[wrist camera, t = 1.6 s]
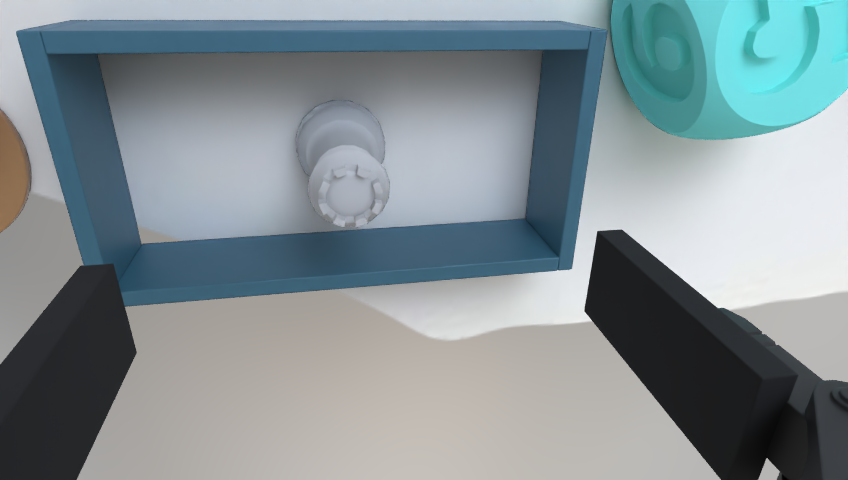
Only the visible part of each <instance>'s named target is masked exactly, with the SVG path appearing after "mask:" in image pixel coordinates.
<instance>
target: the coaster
mask: <svg viewBox="0 0 848 480" xmlns="http://www.w3.org/2000/svg"><path fill="white" fill-rule="evenodd" d="M30 184H31V171H30V163H29V159H28V155H27V152H26V149H25V146H24V144H23V141H22V139H21V138H20V136H19V134H18V132H17V130H16V128H15V127H14V126H13V124H12V123H11V121H10V120H9V119H8V117H7V116H6V115H5V114H4V113H3V111H2V110H1V109H0V233H1V232H2V231H3V230H4V229H6V228H7V227H8V226H9V225H10V224H11V223H12V222H13V221H14V220H15V219H16V218H17V217H18V216H19V214H20V213H21V211H22V210H23V208H24V206H25V203H26V201H27V199H28V195H29V191H30Z"/></svg>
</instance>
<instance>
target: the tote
mask: <svg viewBox="0 0 848 480" xmlns="http://www.w3.org/2000/svg"><path fill="white" fill-rule="evenodd" d="M16 34H17V37H18V41H19V44H20V48H21V51H22V55H23V58H24V62H25V65H26V68H27V72H28V75H29V79H30V82H31V86H32V89H33V92H34V96H35V99H36V103H37V106H38V110H39V113H40V116H41V120H42V123H43V127H44V130H45V134H46V137H47V141H48V144H49V147H50V151H51V154H52V158H53V161H54V165H55V168H56V171H57V175H58V178H59V182H60V185H61V189H62V192H63V195H64V199H65V202H66V206H67V209H68V213H69V216H70V219H71V223H72V226H73V230H74V233H75V237H76V240H77V244H78V247H79V250H80V254H81V257H82V261H83V264H84V265H99V264H114V268H115V271H116V275H117V279H118V283H119V287H120V291H121V294H122V298H123V302H124V306H125V307H126V306H137V305H150V304H161V303H174V302H186V301H198V300H210V299H222V298H234V297H245V296H258V295H270V294H282V293H293V292H305V291H318V290H330V289H342V288H354V287H366V286H378V285H390V284H402V283H414V282H426V281H438V280H450V279H463V278H475V277H487V276H499V275H511V274H523V273H535V272H547V271H557V270H569V269H572V264H573V257H574V251H575V244H576V237H577V231H578V224H579V217H580V211H581V204H582V197H583V191H584V184H585V178H586V171H587V164H588V158H589V151H590V144H591V138H592V131H593V124H594V118H595V111H596V104H597V98H598V91H599V84H600V78H601V71H602V64H603V58H604V51H605V44H606V38H607V30H605V29H600V28H594V27H589V26H584V25H579V24H573V23H568V22H563V21H272V20H89V21H87V20H70V21H65V22H59V23H54V24H49V25H44V26H39V27H34V28H29V29H24V30H19V31H16ZM485 50H543V58H542V67H541V77H540V87H539V96H538V106H537V116H536V125H535V135H534V144H533V154H532V164H531V173H530V183H529V193H528V202H527V212H526V220H525V219H517V220H501V221H486V222H471V223H455V224H440V225H424V226H409V227H394V228H378V229H363V230H348V231H332V232H317V233H301V234H286V235H271V236H255V237H240V238H224V239H209V240H194V241H178V242H164V243H148V244H142V245H141V241H140V236H139V232H138V228H137V223H136V219H135V215H134V211H133V206H132V202H131V198H130V194H129V189H128V185H127V181H126V176H125V172H124V168H123V164H122V159H121V155H120V151H119V147H118V142H117V138H116V134H115V130H114V125H113V121H112V117H111V113H110V108H109V104H108V100H107V96H106V91H105V87H104V83H103V78H102V74H101V70H100V66H99V61H98V57H97V54H131V53H249V52H367V51H485Z"/></svg>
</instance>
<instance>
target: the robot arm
mask: <svg viewBox="0 0 848 480" xmlns="http://www.w3.org/2000/svg"><path fill="white" fill-rule="evenodd" d="M584 311H585V312H586V314H587V315H588V316H589V317H590V319H591V320H592V321H593V322H594V324H595V325H596V326H597V327H598V328H599V330H600V331H601V332H602V333H603V335H604V336H605V337H606V338H607V340H608V341H609V342H610V343H611V344H612V345H613V347H614V348H615V349H616V351H617V352H618V353H619V354H620V356H621V357H622V358H623V359H624V360H625V362H626V363H627V364H628V365H629V367H630V368H631V369H632V370H633V372H634V373H635V374H636V375H637V376H638V378H639V379H640V380H641V382H642V383H643V384H644V385H645V386H646V388H647V389H648V390H649V391H650V393H652V395H653V396H654V398H655V399H656V400H657V401H658V402H659V404H660V405H661V406H662V407H663V408H664V410H665V411H666V412H667V414H668V415H669V416H670V417H671V418H672V420H673V421H674V422H675V423H676V425H677V426H678V427H679V428H680V430H681V431H682V432H683V433H684V434H685V436H686V437H687V438H688V439H689V441H690V442H691V443H692V444H693V446H694V447H695V448H696V449H697V451H698V452H699V453H700V454H701V456H702V457H703V458H704V459H705V460H706V462H707V463H708V464H709V465H710V466H711V468H712V469H713V470H714V472H715V473H716V474H717V475H718V476H719V477H720V479H721V480H758V478H759V476H760V473H761V471H762V468H763V466H764V463H765V460H766V458H768V459H769V460H770V461H771V463H772V464H773V465H774V466H775V467H776V468H777V469H778V470H779V471H780V473H779V476H778V478H777V480H848V382H842V381H837V380H829V381H828V380H827V381H824V380H822V379H821V378H820V377H818V376H817V375H816V374H815V373H813V372H812V371H811V370H809V369H808V368H807V367H806V366H805V365H803V364H802V363H801V362H799V361H798V360H797V359H796V358H794V357H793V356H792V355H791V354H789V353H788V352H787V351H786V350H784V349H783V348H782V347H781V346H779V345H775V342H774V341H773V340H772V339H770V338H769V337H768V336H767V335H765V334H762V331H760V330H759V329H758V328H756V327H755V326H754V325H753V324H751V323H750V322H749V321H748V320H746V319H745V318H743V317H741V316H739V315H737V314H735V313H733V312H731V311H729V310H727V309H725V308H717V307H716V306H714V305H713V304H712V303H711V302H709V301H708V300H707V299H706V298H705V297H703V296H702V295H701V294H700V293H699V292H697V291H696V290H695V289H694V288H692V287H691V286H690V285H689V284H688V283H686V282H685V281H684V280H683V279H681V278H680V277H679V276H678V275H677V274H675V273H674V272H673V271H672V270H670V269H669V268H668V267H667V266H666V265H664V264H663V263H662V262H661V261H659V260H658V259H657V258H656V257H655V256H653V255H652V254H651V253H650V252H648V251H647V250H646V249H645V248H644V247H642V246H641V245H640V244H639V243H637V242H636V241H635V240H634V239H633V238H631V237H630V236H629V235H628V234H627V233H625V232H624V231H623V230H608V231H597V237H596V243H595V250H594V256H593V262H592V268H591V274H590V280H589V286H588V292H587V298H586V304H585V310H584ZM135 355H136V348H135V344H134V340H133V337H132V333H131V329H130V325H129V321H128V317H127V313H126V310H125V306H124V302H123V298H122V294H121V291H120V287H119V283H118V279H117V275H116V271H115V268H114V264H99V265H84V266H80V267H79V268H78V269H77V271H76V272H75V273H74V274H73V276H72V277H71V278H70V279H69V281H68V282H67V283H66V284H65V285H64V287H63V288H62V289H61V290H60V292H59V293H58V294H57V295H56V297H55V298H54V299H53V300H52V301H51V303H50V304H49V305H48V307H47V308H46V309H45V310H44V311H43V313H42V314H41V315H40V316H39V318H38V319H37V320H36V321H35V323H34V324H33V325H32V326H31V327H30V329H29V330H28V331H27V332H26V334H25V335H24V336H23V337H22V338H21V340H20V341H19V342H18V344H17V345H16V346H15V347H14V348H13V350H12V351H11V352H10V353H9V355H8V356H7V357H6V358H5V360H4V361H3V362H2V363H1V364H0V480H77V477H78V475H79V473H80V471H81V469H82V467H83V465H84V463H85V461H86V459H87V456H88V454H89V452H90V450H91V448H92V446H93V444H94V442H95V440H96V437H97V435H98V433H99V431H100V429H101V427H102V425H103V423H104V421H105V418H106V416H107V414H108V412H109V410H110V408H111V406H112V403H113V401H114V399H115V397H116V395H117V393H118V391H119V389H120V387H121V385H122V382H123V380H124V378H125V376H126V374H127V372H128V370H129V368H130V366H131V363H132V361H133V359H134V357H135Z"/></svg>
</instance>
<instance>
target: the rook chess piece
mask: <svg viewBox="0 0 848 480" xmlns="http://www.w3.org/2000/svg"><path fill="white" fill-rule="evenodd" d="M296 150H297V154H298V158H299V161H300V163H301V165H302V167H303V170H304V172H305V173H306V174H307V175H308V176H309V177H310V179H309V181H308V197H309V199H310V201H311V203H312V205H313V208H314V210H315V211H316V212H317V213H318V214H319V215H320V216H321V217H323V218H324V219H325V220H326V221H328V222H331V223H333V224H336V225H338V226H341V227H344V226H356V227H360V226H362V225H365V224H368V222H369V221H371V220H372V219H374V218H375V217H376V216H377V215H378V214H379V213H380V212H381V211H382V210H383V208H384V206H385V204H386V202H387V200H388V198H389V188H390V182H389V179H388V176H387V174H386V171H385V168H384V167H383V166H382V165H381V164H382V162H383V160H384V153H385V141H384V135H383V132H382V130H381V127H380V124H379V121H378V120H377V119H376V118H375V117H374V116H373V115H372V114H371V113H370V112H369V110H368V109H367V108H364V107H362V106H360V105H358V104H356V103H354V102H352V101H338V100H332V101H329V102H326V103H324V104H321V105H318V106H316V107H315V108H314V109H313V110H311V111H310V112H309V113H308V114H307V115H306V116H305V117H304V118H303V120H302V122H301V124H300V127H299V129H298V132H297V134H296Z"/></svg>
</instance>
